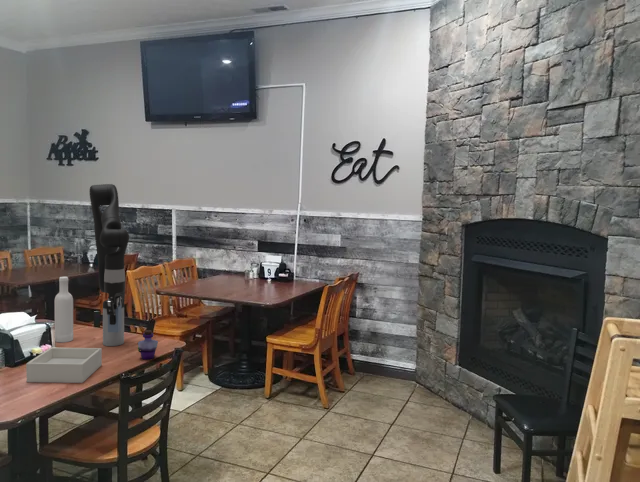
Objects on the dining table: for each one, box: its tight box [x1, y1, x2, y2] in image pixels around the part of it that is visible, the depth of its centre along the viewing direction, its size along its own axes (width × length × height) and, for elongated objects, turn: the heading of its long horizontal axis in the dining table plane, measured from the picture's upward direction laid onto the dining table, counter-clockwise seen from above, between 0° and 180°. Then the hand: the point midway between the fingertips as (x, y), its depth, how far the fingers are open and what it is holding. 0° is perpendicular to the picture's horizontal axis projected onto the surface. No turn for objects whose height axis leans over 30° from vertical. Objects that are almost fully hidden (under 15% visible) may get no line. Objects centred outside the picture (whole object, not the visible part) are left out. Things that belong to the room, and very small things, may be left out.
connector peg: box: [108, 305, 121, 332], centre depth 205 cm, size 4×4×10 cm
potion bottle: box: [137, 329, 159, 361], centre depth 223 cm, size 9×9×12 cm
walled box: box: [25, 347, 103, 384], centre depth 202 cm, size 20×20×7 cm
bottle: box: [54, 276, 74, 343], centre depth 243 cm, size 8×8×30 cm
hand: (114, 322), depth 205 cm, fingers closed on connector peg, 4 cm apart
